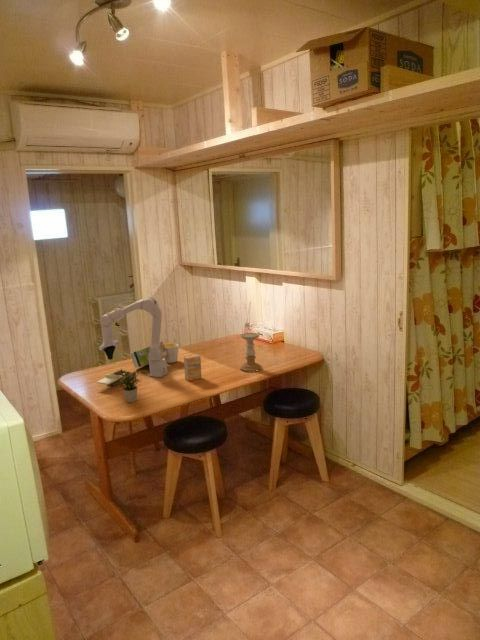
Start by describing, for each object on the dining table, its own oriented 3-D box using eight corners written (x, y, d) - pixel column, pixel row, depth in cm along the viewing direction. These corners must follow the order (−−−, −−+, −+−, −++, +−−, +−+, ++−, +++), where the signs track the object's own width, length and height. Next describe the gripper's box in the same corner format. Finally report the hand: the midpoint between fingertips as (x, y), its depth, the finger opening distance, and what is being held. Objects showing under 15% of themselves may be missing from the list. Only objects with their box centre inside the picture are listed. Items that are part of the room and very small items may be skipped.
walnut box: (121, 376, 270) (121, 369, 269) (136, 378, 266) (135, 371, 265) (106, 384, 259) (105, 376, 258) (121, 386, 255) (120, 378, 254)
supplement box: (188, 381, 258) (186, 358, 255) (184, 379, 262) (183, 356, 259) (202, 378, 262) (200, 355, 259) (198, 376, 266) (197, 353, 263)
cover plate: (112, 375, 261) (112, 371, 261) (123, 376, 258) (123, 372, 258) (96, 383, 250) (96, 378, 250) (108, 384, 247) (107, 380, 247)
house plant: (107, 404, 232) (104, 372, 228) (124, 393, 244) (121, 363, 241) (132, 407, 227) (129, 374, 223) (148, 396, 239) (145, 365, 236)
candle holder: (242, 365, 282) (241, 332, 277) (263, 365, 279) (262, 332, 275) (238, 371, 270) (237, 337, 265) (259, 372, 268) (258, 338, 263)
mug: (182, 361, 291) (181, 345, 289) (168, 365, 286) (166, 348, 283) (172, 357, 302) (171, 341, 300) (157, 360, 296) (156, 344, 294)
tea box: (135, 369, 281) (153, 363, 273) (129, 353, 281) (146, 346, 273) (151, 362, 294) (168, 356, 286) (145, 347, 294) (162, 340, 286)
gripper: (110, 332, 273) (113, 354, 276) (93, 338, 260) (95, 362, 263) (120, 333, 270) (122, 355, 273) (103, 339, 257) (105, 363, 260)
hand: (110, 359), depth 268 cm, fingers closed
